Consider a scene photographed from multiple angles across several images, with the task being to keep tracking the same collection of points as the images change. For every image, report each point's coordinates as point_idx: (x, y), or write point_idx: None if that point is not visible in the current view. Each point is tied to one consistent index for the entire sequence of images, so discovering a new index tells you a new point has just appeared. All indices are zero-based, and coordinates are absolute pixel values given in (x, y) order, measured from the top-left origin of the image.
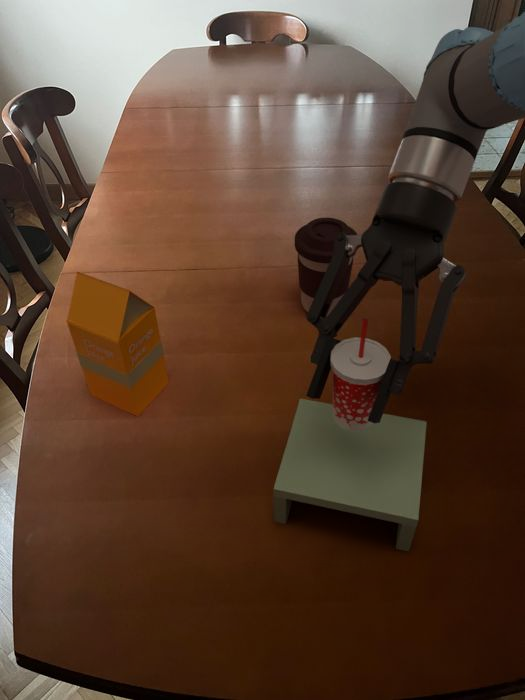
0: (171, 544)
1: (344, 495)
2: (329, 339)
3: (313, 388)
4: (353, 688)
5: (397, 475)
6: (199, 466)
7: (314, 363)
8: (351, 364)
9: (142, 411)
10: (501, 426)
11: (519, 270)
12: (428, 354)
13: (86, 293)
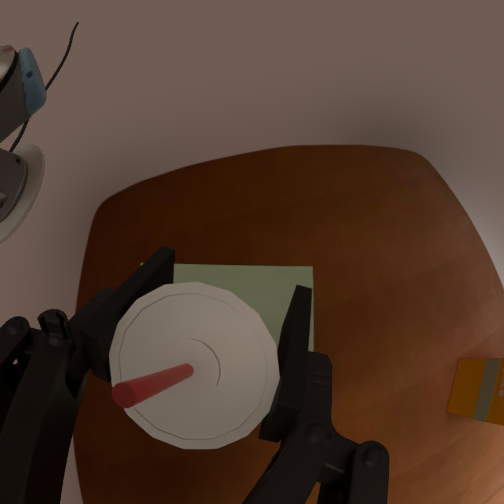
0: (381, 236)
1: (224, 276)
2: (294, 401)
3: (301, 298)
4: (206, 164)
5: None
6: (392, 324)
7: (317, 353)
8: (211, 341)
9: (457, 366)
10: (85, 433)
11: None
12: (8, 327)
13: None
